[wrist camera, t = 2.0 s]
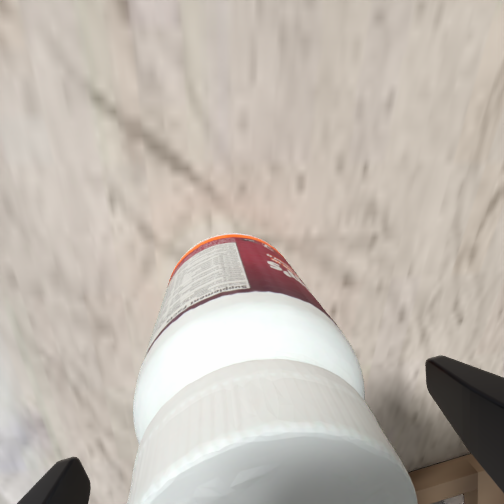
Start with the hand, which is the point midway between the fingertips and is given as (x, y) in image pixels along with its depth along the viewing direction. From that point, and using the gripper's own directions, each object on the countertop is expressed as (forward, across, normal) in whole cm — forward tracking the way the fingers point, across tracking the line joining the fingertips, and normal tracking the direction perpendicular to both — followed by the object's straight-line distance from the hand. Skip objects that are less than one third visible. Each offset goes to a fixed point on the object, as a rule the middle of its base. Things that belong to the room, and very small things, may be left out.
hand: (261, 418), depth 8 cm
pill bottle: (+9, 0, 0) cm, 9 cm away
